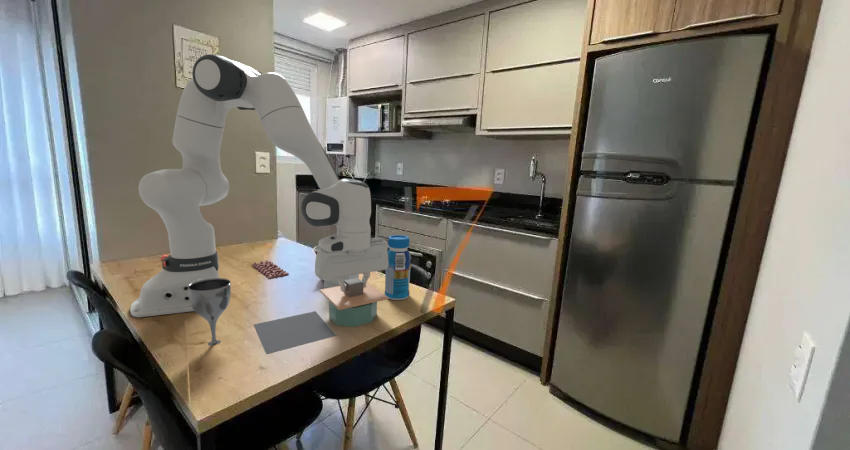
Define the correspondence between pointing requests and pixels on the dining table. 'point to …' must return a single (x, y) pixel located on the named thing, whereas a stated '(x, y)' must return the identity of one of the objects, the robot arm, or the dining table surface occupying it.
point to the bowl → (353, 314)
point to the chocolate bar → (269, 269)
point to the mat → (292, 331)
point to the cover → (353, 294)
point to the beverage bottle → (398, 268)
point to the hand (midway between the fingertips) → (353, 289)
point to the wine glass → (210, 301)
